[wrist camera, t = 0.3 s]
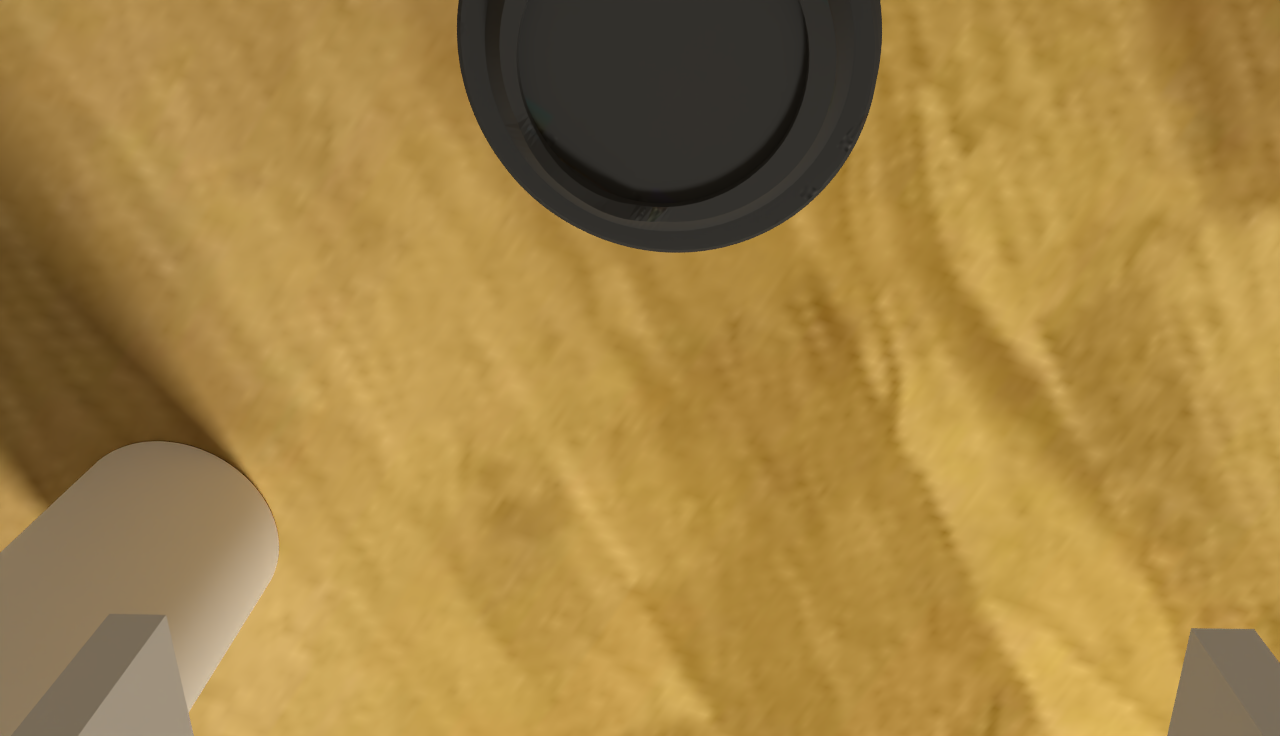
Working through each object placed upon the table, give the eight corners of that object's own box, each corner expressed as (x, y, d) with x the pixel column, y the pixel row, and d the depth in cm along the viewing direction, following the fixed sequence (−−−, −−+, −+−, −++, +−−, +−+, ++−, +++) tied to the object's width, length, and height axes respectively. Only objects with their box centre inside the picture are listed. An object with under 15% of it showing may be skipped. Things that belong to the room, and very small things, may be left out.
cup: (100, 408, 42) (-222, 683, 27) (305, 490, 43) (101, 798, 28) (55, 573, 45) (-256, 900, 30) (247, 645, 46) (37, 996, 31)
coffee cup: (642, -223, 33) (604, -314, 19) (878, -38, 34) (1002, 3, 21) (483, 34, 36) (351, 119, 22) (707, 193, 38) (715, 363, 24)
